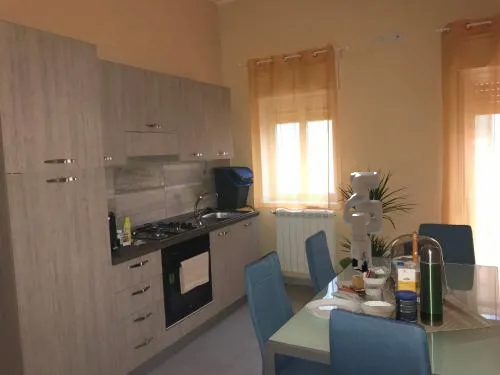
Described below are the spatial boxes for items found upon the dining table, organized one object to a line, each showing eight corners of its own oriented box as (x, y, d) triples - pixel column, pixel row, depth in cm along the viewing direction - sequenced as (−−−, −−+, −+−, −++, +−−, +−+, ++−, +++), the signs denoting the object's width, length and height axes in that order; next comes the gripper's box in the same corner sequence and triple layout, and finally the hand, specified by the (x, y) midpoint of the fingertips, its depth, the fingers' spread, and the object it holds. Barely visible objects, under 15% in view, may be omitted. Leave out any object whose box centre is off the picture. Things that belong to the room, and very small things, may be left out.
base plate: (349, 287, 213) (349, 284, 213) (362, 285, 215) (362, 283, 215) (357, 292, 205) (357, 289, 205) (371, 290, 207) (371, 287, 207)
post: (356, 285, 211) (355, 276, 211) (361, 285, 212) (360, 275, 212) (358, 287, 208) (358, 278, 208) (364, 286, 209) (363, 277, 209)
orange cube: (352, 285, 213) (352, 275, 212) (362, 283, 214) (362, 274, 214) (358, 288, 207) (358, 279, 206) (368, 287, 208) (368, 277, 208)
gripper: (344, 234, 216) (345, 265, 218) (361, 241, 199) (362, 275, 201) (357, 233, 218) (357, 264, 219) (374, 240, 201) (375, 273, 203)
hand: (359, 269), depth 210 cm, fingers open, 9 cm apart
